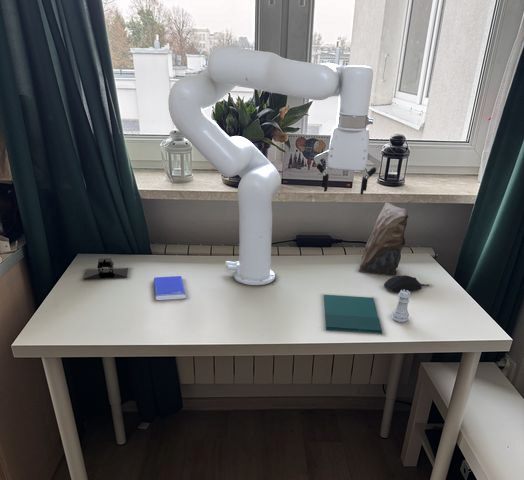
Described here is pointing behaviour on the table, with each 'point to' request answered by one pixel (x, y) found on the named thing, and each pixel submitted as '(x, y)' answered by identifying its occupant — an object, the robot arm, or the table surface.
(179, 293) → the hard drive
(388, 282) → the gaming mouse
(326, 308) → the flat rectangular slab
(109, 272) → the build plate
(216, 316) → the table surface
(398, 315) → the rook chess piece
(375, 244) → the brown faceted tall stone
